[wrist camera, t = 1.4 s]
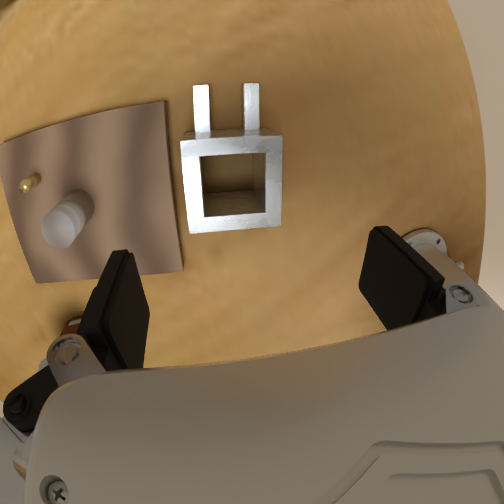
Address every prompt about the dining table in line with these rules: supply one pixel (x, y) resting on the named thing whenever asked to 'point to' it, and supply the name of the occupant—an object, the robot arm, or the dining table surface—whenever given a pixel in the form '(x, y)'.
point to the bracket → (232, 142)
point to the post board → (95, 194)
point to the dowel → (29, 183)
